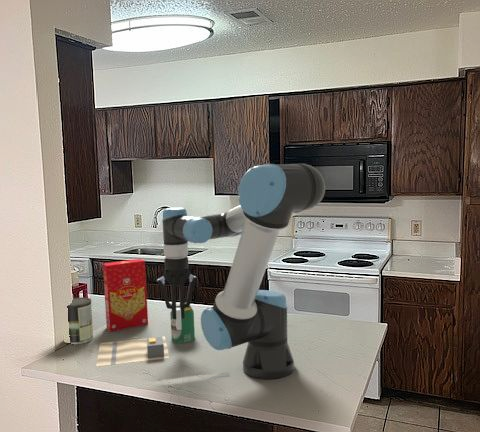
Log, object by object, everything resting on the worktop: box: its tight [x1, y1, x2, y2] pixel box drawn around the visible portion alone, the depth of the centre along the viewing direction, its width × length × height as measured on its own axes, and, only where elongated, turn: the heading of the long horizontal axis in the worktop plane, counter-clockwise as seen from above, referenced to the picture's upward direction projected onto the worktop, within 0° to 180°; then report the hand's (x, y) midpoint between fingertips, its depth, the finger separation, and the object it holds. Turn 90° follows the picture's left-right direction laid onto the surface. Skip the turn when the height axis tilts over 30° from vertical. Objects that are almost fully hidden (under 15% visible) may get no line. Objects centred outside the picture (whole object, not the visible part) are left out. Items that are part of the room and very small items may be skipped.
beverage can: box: [170, 305, 196, 344], centre depth 166 cm, size 8×8×12 cm
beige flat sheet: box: [95, 336, 170, 368], centre depth 157 cm, size 20×22×1 cm
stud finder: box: [147, 336, 164, 358], centre depth 154 cm, size 7×5×5 cm
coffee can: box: [67, 297, 94, 345], centre depth 172 cm, size 10×10×14 cm
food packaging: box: [102, 258, 149, 332], centre depth 185 cm, size 15×5×25 cm, turn 120°
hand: (178, 328), depth 155 cm, fingers closed
